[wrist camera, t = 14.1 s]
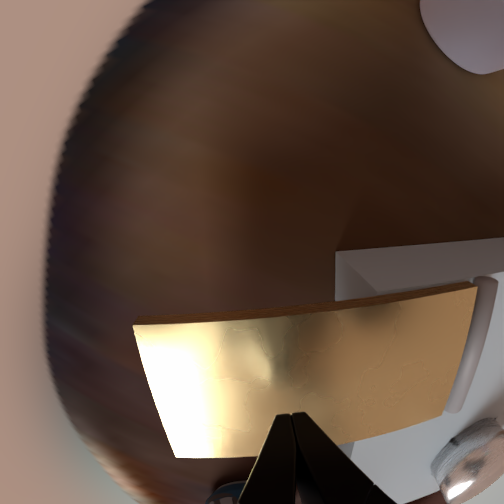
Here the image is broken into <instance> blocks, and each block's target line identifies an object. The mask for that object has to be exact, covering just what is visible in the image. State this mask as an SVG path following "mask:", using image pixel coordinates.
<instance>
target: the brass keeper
mask: <svg viewBox="0 0 504 504" xmlns="http://www.w3.org/2000/svg"><path fill="white" fill-rule="evenodd" d="M477 288H478V286H476V285H474V284H473V283H471V282H469V281H464V282H458V283H453V284H447V285H442V286H436V287H430V288H424V289H418V290H412V291H406V292H399V293H392V294H386V295H379V296H371V297H364V298H357V299H349V300H341V301H333V302H324V303H315V304H306V305H297V306H287V307H276V308H265V309H253V310H241V311H227V312H213V313H196V314H177V315H154V316H138V318H137V319H136V321H135V322H134V324H133V329H134V333H135V337H136V341H137V344H138V348H139V352H140V355H141V359H142V362H143V365H144V369H145V372H146V375H147V379H148V382H149V385H150V388H151V391H152V394H153V397H154V400H155V403H156V406H157V409H158V412H159V414H160V417H161V420H162V423H163V425H164V428H165V431H166V433H167V436H168V438H169V441H170V443H171V446H172V448H173V451H174V453H175V456H176V457H188V458H227V457H249V456H259V453H260V451H261V449H262V446H263V444H264V442H265V439H266V437H267V435H268V432H269V430H270V427H271V425H272V422H273V420H274V417H275V416H276V415H277V414H286V413H289V414H290V415H291V414H292V413H295V412H306V413H307V414H308V415H309V416H310V417H311V418H312V419H313V420H314V422H315V423H316V424H317V425H318V426H319V427H320V428H321V429H322V430H323V431H324V432H325V433H326V434H327V435H328V437H329V438H330V439H331V440H332V441H333V442H334V443H335V444H336V445H341V444H346V443H350V442H355V441H359V440H363V439H368V438H372V437H376V436H379V435H383V434H387V433H390V432H394V431H397V430H400V429H404V428H407V427H410V426H413V425H416V424H419V423H422V422H425V421H428V420H431V419H434V418H436V417H439V416H442V413H443V411H444V408H445V406H446V403H447V400H448V398H449V395H450V392H451V389H452V386H453V383H454V380H455V377H456V374H457V371H458V368H459V365H460V361H461V358H462V354H463V351H464V347H465V344H466V340H467V336H468V332H469V328H470V323H471V319H472V314H473V309H474V304H475V299H476V294H477Z"/></svg>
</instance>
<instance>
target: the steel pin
mask: <svg viewBox="0 0 504 504" xmlns="http://www.w3.org/2000/svg"><path fill="white" fill-rule="evenodd" d="M430 471H431V473H432V475H433V477H434V479H435V480H436V482H437V484H438V486H439V488H440V490H441V492H442V494H443V496H444V498H445V500H446V502H447V504H461V503H463V502H465V501H467V500H469V499H471V498H473V497H474V496H476V495H478V494H479V493H480V492H482V491H483V490H485V489H486V488H487V487H489V486H490V485H491V484H492V483H494V482H495V481H496V480H497V479H498V478H499V477H500V476H501V475H502V474H503V473H504V429H503V428H502V427H501V426H500V425H499V423H498V422H497V421H496V420H495V419H494V418H492V417H488V418H484V419H482V420H479V421H477V422H475V423H474V424H472V425H470V426H469V427H467V428H466V429H464V430H463V431H462V432H460V433H459V434H458V435H456V436H455V437H453V438H451V439H450V441H449V442H448V443H447V444H446V445H445V446H444V447H443V448H442V449H441V450H440V451H439V453H438V454H437V455H436V456H435V458H434V459H433V461H432V463H431V466H430Z"/></svg>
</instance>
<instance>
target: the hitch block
mask: <svg viewBox="0 0 504 504" xmlns="http://www.w3.org/2000/svg"><path fill="white" fill-rule="evenodd" d="M464 281H469V282H471V283H473V284H474V285H476V286H478V288H477V294H476V299H475V304H474V309H473V314H472V319H471V323H470V328H469V332H468V336H467V340H466V344H465V347H464V351H463V354H462V358H461V361H460V365H459V368H458V371H457V374H456V377H455V380H454V383H453V386H452V389H451V392H450V395H449V398H448V400H447V403H446V406H445V408H444V411H443V413H442V416H439V417H436V418H434V419H431V420H428V421H425V422H422V423H419V424H416V425H413V426H410V427H407V428H404V429H400V430H397V431H394V432H390V433H387V434H383V435H379V436H376V437H372V438H368V439H363V440H359V441H355V442H350V443H346V444H341V445H337V446H338V447H339V448H340V449H341V450H342V451H343V452H344V453H345V454H346V455H347V456H348V457H349V458H350V459H351V460H352V461H353V462H354V463H355V464H356V465H357V466H358V467H359V468H360V469H361V470H362V471H363V472H364V473H365V474H366V475H367V476H368V477H369V478H370V479H371V480H372V481H373V482H374V485H375V484H376V485H377V486H378V487H379V488H380V489H381V490H382V491H383V492H384V493H386V494H387V495H388V496H389V497H390V498H391V499H392V500H394V501H395V502H396V503H397V504H405V503H408V502H411V501H413V500H416V499H419V498H421V497H424V496H427V495H429V494H432V493H434V492H436V491H439V490H440V488H439V486H438V484H437V482H436V480H435V479H434V477H433V475H432V473H431V471H430V466H431V463H432V461H433V459H434V458H435V456H436V455H437V454H438V453H439V451H440V450H441V449H442V448H443V447H444V446H445V445H446V444H447V443H448V442H449V441H450V439H451V438H453V437H455V436H456V435H458V434H459V433H460V432H462V431H463V430H464V429H466V428H467V427H469V426H470V425H472V424H474V423H475V422H477V421H479V420H482V419H484V418H488V417H492V418H494V419H495V420H496V421H497V422H498V423H499V425H500V426H501V427H502V428H503V429H504V237H502V238H491V239H480V240H468V241H457V242H445V243H433V244H421V245H410V246H397V247H385V248H373V249H361V250H348V251H336V252H335V301H341V300H349V299H357V298H364V297H371V296H379V295H386V294H392V293H399V292H406V291H412V290H418V289H424V288H430V287H436V286H442V285H447V284H453V283H458V282H464Z"/></svg>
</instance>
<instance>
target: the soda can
mask: <svg viewBox="0 0 504 504" xmlns="http://www.w3.org/2000/svg"><path fill="white" fill-rule="evenodd" d="M246 482H247V481H236V482H231V483H227V484H224V485H222V486H220V487H219V488H218V489H217V490H216V491H215V492H214V493H213V494H212V495H211V496H210V497H209V498H208V499H207V501H206V503H205V504H238V503H237V501H238V499H239V497H240V495H241V493H242V491H243V489H244V487H245V485H246Z"/></svg>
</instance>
